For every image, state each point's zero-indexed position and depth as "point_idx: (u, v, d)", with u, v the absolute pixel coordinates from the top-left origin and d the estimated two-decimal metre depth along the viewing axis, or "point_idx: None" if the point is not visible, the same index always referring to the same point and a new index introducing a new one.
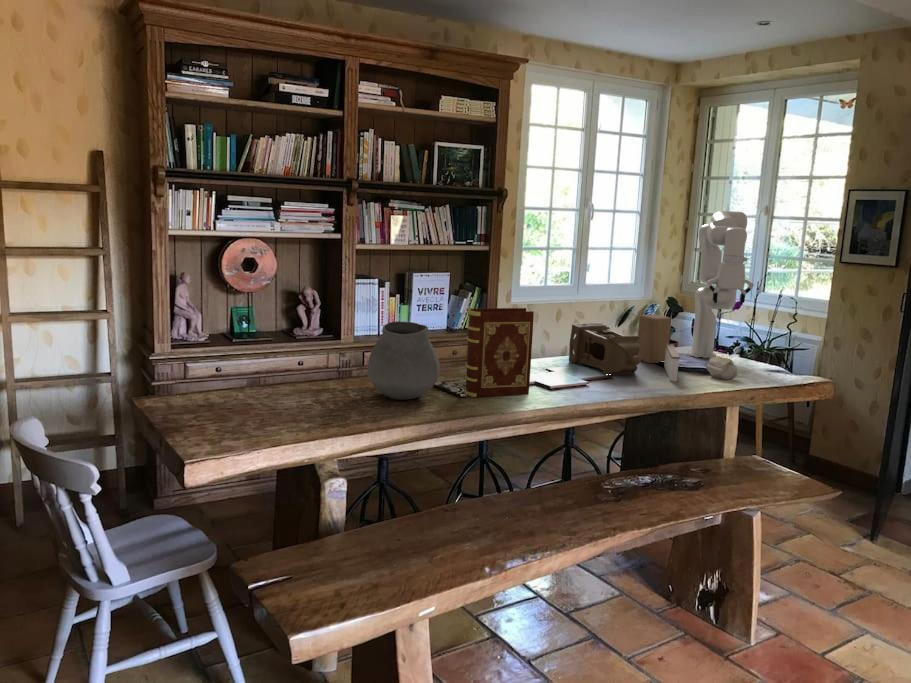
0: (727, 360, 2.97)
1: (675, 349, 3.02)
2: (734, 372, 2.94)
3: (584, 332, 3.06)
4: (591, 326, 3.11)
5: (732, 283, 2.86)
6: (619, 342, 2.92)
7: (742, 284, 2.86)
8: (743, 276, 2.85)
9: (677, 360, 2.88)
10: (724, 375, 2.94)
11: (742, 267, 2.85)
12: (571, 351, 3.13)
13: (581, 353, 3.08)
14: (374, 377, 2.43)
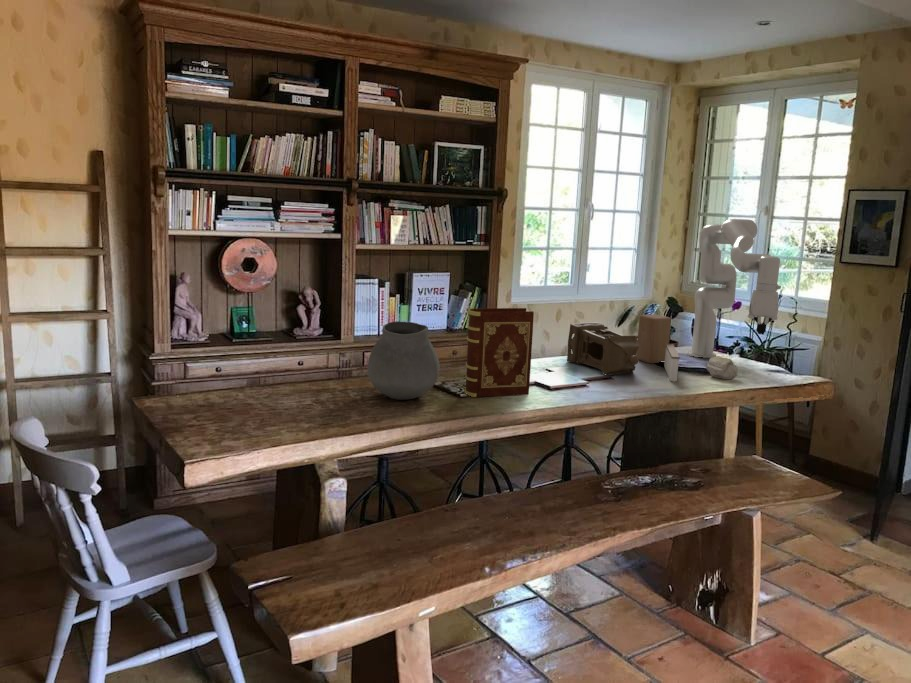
0: (727, 360, 2.97)
1: (675, 349, 3.02)
2: (734, 372, 2.94)
3: (582, 332, 3.06)
4: (589, 326, 3.12)
5: (766, 311, 2.89)
6: (617, 342, 2.92)
7: (775, 312, 2.88)
8: (777, 304, 2.88)
9: (677, 360, 2.88)
10: (724, 375, 2.94)
11: (776, 295, 2.87)
12: (569, 351, 3.14)
13: (579, 353, 3.09)
14: (374, 377, 2.43)
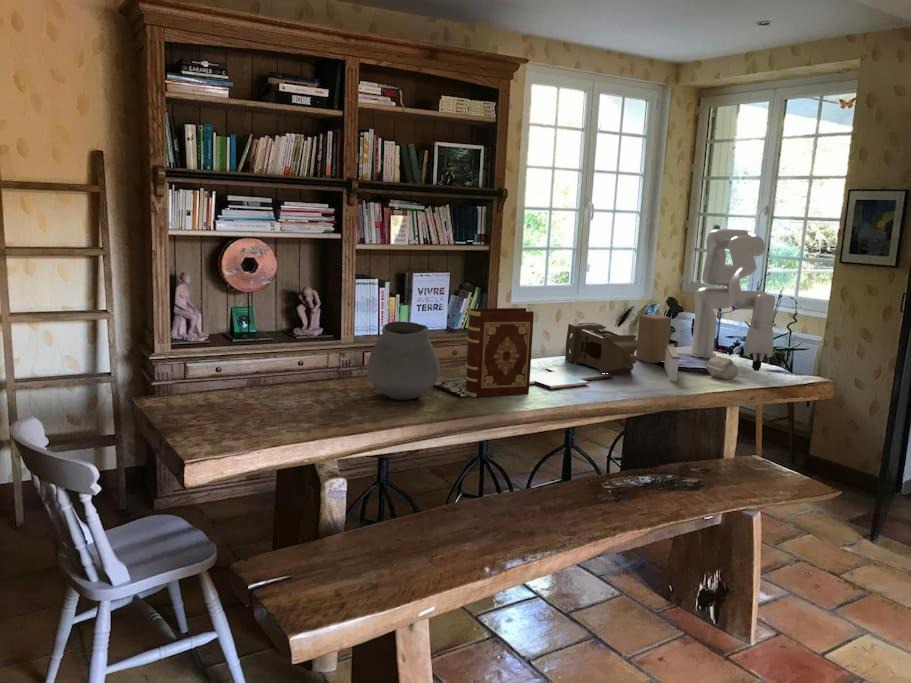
0: (727, 360, 2.97)
1: (675, 349, 3.02)
2: (734, 372, 2.94)
3: (580, 331, 3.07)
4: (587, 325, 3.13)
5: (761, 348, 2.92)
6: (616, 341, 2.93)
7: (771, 349, 2.91)
8: (772, 341, 2.91)
9: (677, 360, 2.88)
10: (724, 375, 2.94)
11: (771, 332, 2.90)
12: (567, 350, 3.15)
13: (577, 352, 3.10)
14: (374, 377, 2.43)
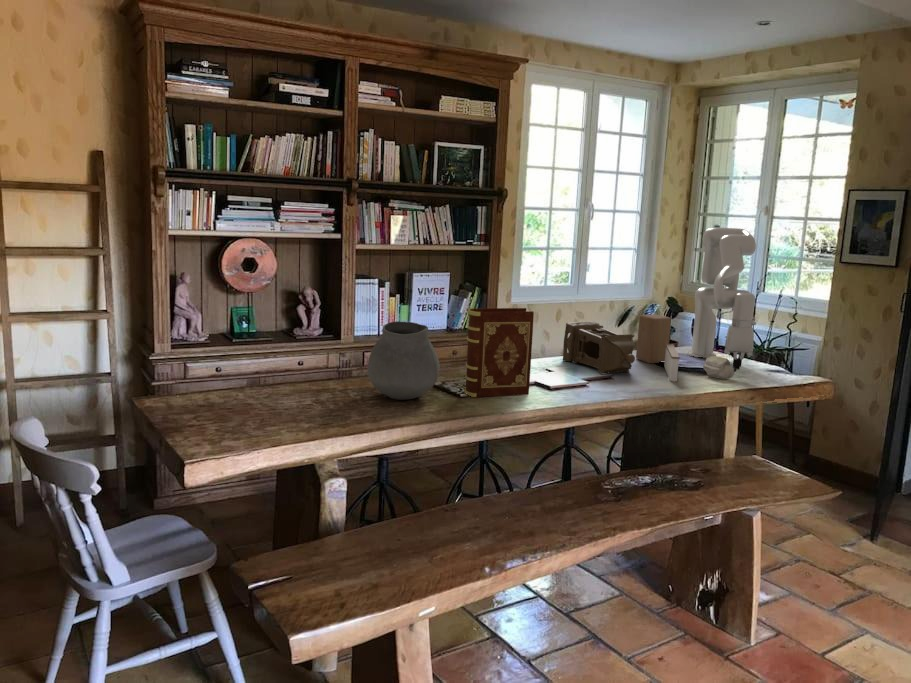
0: (724, 360, 2.97)
1: (675, 349, 3.02)
2: (731, 372, 2.94)
3: (578, 331, 3.08)
4: (585, 325, 3.14)
5: (741, 347, 2.93)
6: (614, 340, 2.94)
7: (751, 347, 2.93)
8: (752, 340, 2.92)
9: (677, 360, 2.88)
10: (721, 375, 2.94)
11: (751, 331, 2.91)
12: (565, 350, 3.16)
13: (575, 352, 3.11)
14: (374, 377, 2.43)
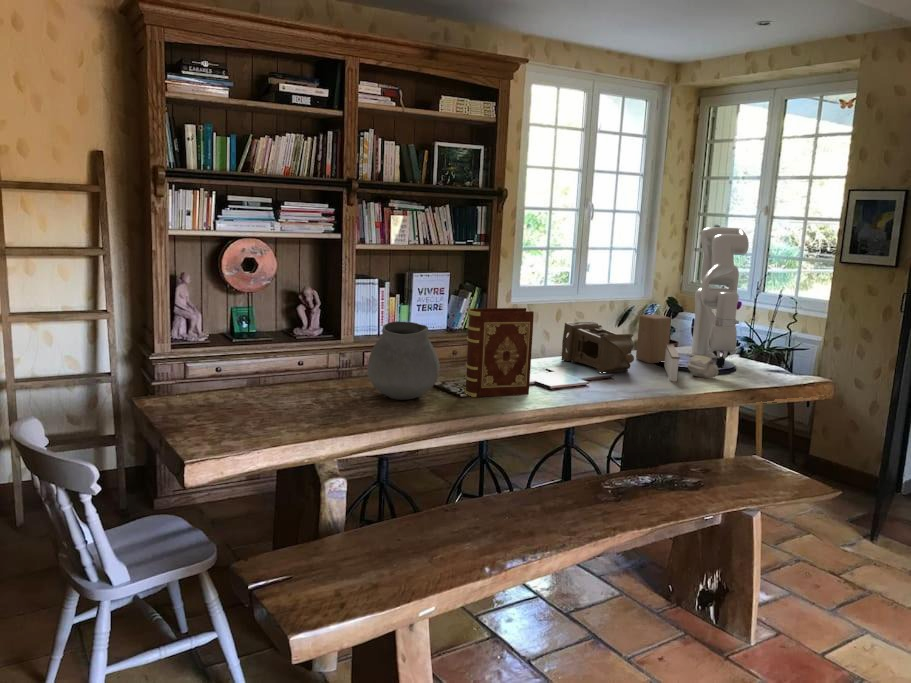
0: (708, 359, 2.97)
1: (675, 349, 3.02)
2: (715, 371, 2.94)
3: (577, 330, 3.09)
4: (583, 324, 3.14)
5: (724, 345, 2.94)
6: (613, 340, 2.95)
7: (734, 346, 2.94)
8: (735, 339, 2.93)
9: (677, 360, 2.88)
10: (706, 374, 2.94)
11: (734, 330, 2.92)
12: (564, 349, 3.16)
13: (574, 351, 3.11)
14: (374, 377, 2.43)
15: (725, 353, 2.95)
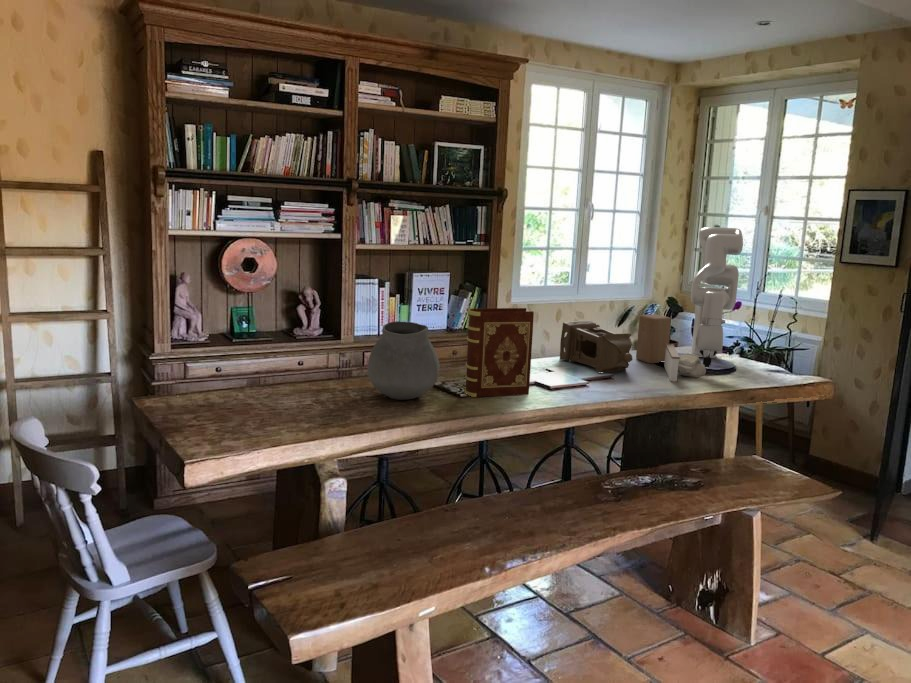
0: (695, 358, 2.98)
1: (675, 349, 3.02)
2: (703, 370, 2.95)
3: (575, 330, 3.09)
4: (581, 324, 3.15)
5: (711, 345, 2.95)
6: (611, 340, 2.96)
7: (720, 345, 2.95)
8: (721, 338, 2.94)
9: (677, 360, 2.88)
10: (694, 373, 2.95)
11: (720, 329, 2.93)
12: (562, 349, 3.17)
13: (572, 351, 3.12)
14: (374, 377, 2.43)
15: (712, 352, 2.96)
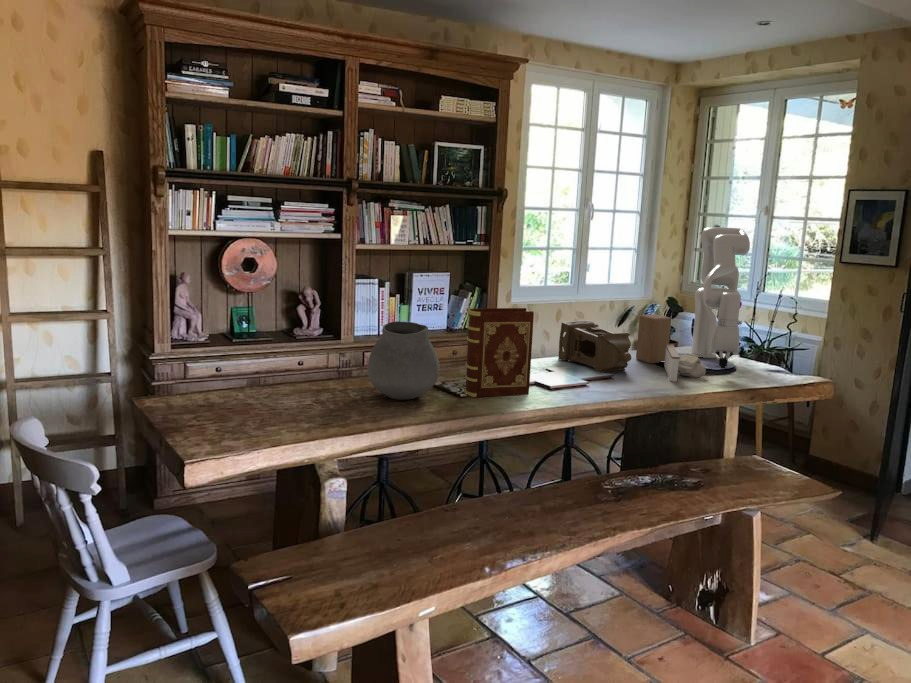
0: (695, 358, 2.98)
1: (675, 349, 3.02)
2: (703, 370, 2.95)
3: (574, 330, 3.10)
4: (580, 324, 3.16)
5: (727, 346, 2.94)
6: (610, 339, 2.96)
7: (736, 347, 2.93)
8: (737, 339, 2.93)
9: (677, 360, 2.88)
10: (693, 373, 2.95)
11: (736, 330, 2.92)
12: (561, 349, 3.17)
13: (571, 351, 3.12)
14: (374, 377, 2.43)
15: (728, 353, 2.95)
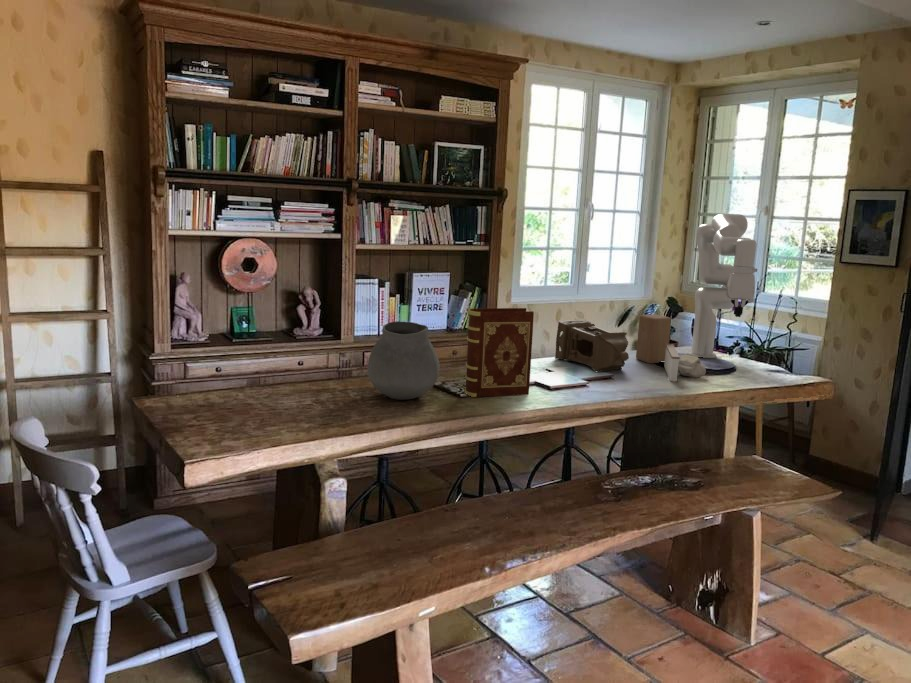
0: (695, 358, 2.98)
1: (675, 349, 3.02)
2: (703, 370, 2.95)
3: (571, 329, 3.11)
4: (577, 323, 3.17)
5: (742, 294, 2.91)
6: (607, 338, 2.98)
7: (752, 294, 2.91)
8: (753, 286, 2.90)
9: (677, 360, 2.88)
10: (693, 373, 2.95)
11: (752, 277, 2.89)
12: (558, 348, 3.18)
13: (568, 350, 3.14)
14: (374, 377, 2.43)
15: (743, 301, 2.92)
